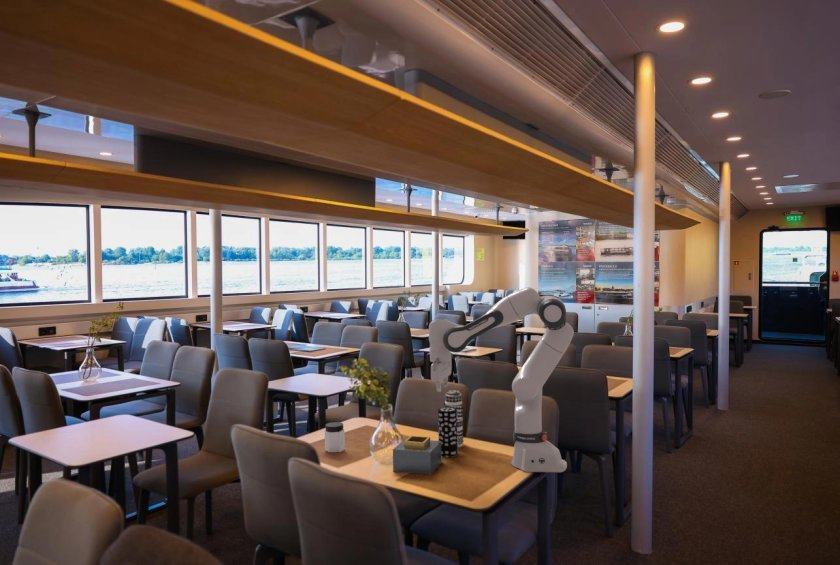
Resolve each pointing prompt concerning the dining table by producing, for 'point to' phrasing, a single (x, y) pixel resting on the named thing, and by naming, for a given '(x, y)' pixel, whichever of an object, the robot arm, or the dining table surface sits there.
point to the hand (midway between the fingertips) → (442, 389)
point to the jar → (334, 437)
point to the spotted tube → (448, 431)
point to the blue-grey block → (417, 455)
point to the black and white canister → (456, 402)
